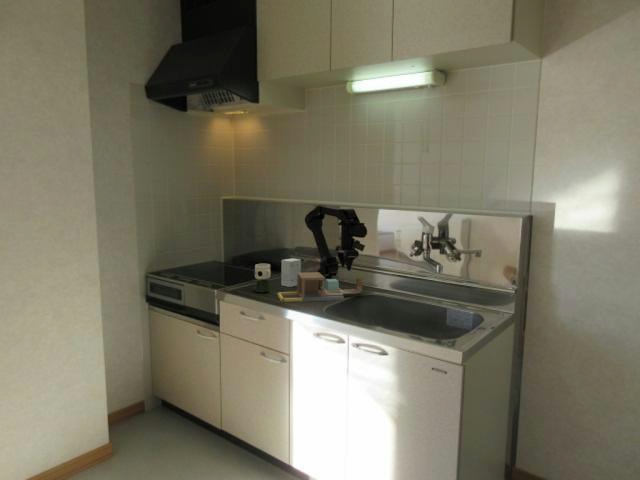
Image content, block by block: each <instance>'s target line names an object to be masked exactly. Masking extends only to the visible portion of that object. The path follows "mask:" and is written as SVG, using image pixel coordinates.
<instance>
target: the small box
mask: <svg viewBox="0 0 640 480" xmlns="http://www.w3.org/2000/svg"><path fill="white" fill-rule="evenodd" d="M280 273H281V275H280V276H281V278H280V279H281V284H280V285H281V286H284V287H289V288H292V287H294V286H295V287H297V273H302V259H299V258H286V259H281V272H280Z"/></svg>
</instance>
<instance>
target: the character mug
mask: <svg viewBox="0 0 640 480" xmlns="http://www.w3.org/2000/svg"><path fill="white" fill-rule="evenodd" d="M271 276H272V275H271V264H270V263H257V264H255V265H254V277H255V279H257V280H256V285H255V292H256V293H257V292H258V293H263V294H264V293H266V292H269V291H270V286H269V285H270V284H269V279H270V278H271Z"/></svg>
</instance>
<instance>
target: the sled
mask: <svg viewBox="0 0 640 480" xmlns="http://www.w3.org/2000/svg"><path fill="white" fill-rule="evenodd" d="M362 287H363V279H362V278H359V277H358V278H356V280H355V289H354V288H353V289H342V288H340V287H339V289H338V290H333V291H326V290H324V295H325V296H327V295H342V296H343V295H344V294H360V293H362ZM320 291H321V292H322V287H321V289H320Z"/></svg>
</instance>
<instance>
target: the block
mask: <svg viewBox="0 0 640 480" xmlns="http://www.w3.org/2000/svg"><path fill="white" fill-rule="evenodd" d="M339 283H340V282H339V280H338V279H337V278H333V279H325V290H326V291H333V290H338V289H339V288H340V287H339V285H340V284H339Z"/></svg>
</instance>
